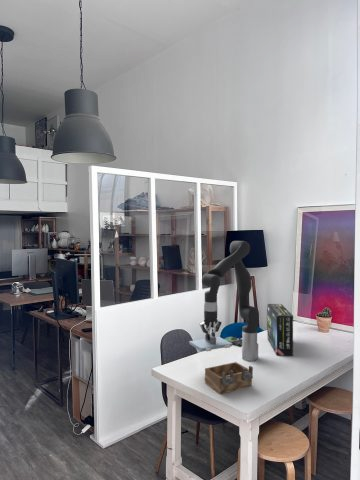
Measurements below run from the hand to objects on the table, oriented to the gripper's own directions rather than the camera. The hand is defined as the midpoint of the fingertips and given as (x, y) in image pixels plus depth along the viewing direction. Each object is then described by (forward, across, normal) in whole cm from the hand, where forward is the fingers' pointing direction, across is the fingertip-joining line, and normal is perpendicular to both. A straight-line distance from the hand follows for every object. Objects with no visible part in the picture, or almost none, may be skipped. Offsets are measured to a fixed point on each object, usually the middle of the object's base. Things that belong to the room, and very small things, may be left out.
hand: (210, 339), depth 204 cm
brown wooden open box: (+19, -1, +18) cm, 27 cm away
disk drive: (+20, -43, -39) cm, 62 cm away
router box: (+19, -66, -18) cm, 71 cm away
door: (+3, 0, 0) cm, 3 cm away
